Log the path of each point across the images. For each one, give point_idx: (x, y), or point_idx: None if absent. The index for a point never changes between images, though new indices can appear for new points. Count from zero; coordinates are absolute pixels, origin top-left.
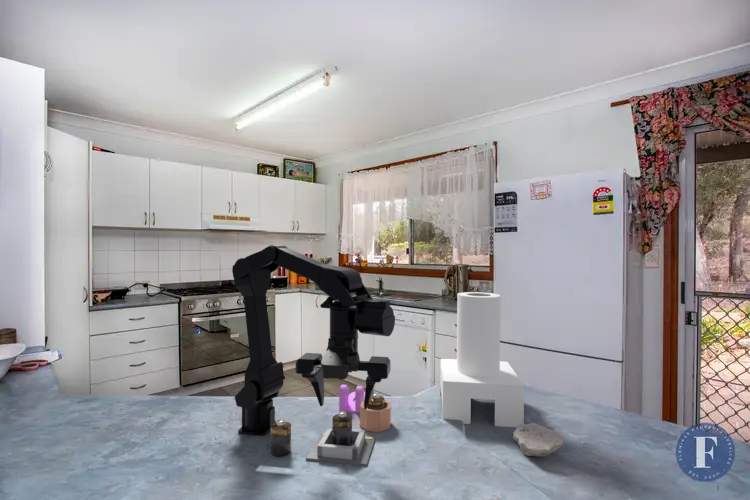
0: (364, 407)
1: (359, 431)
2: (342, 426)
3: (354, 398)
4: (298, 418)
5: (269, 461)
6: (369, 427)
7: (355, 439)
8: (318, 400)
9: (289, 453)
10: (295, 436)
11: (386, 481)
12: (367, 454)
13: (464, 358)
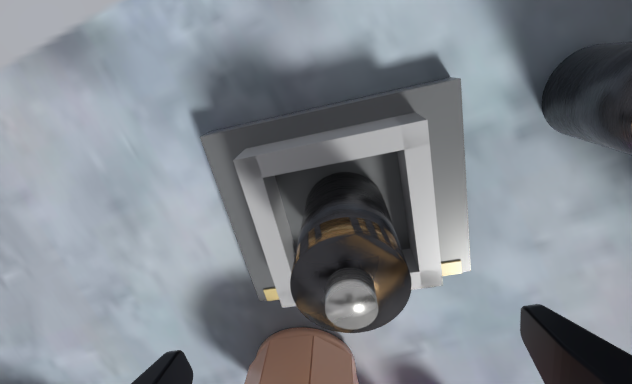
0: (168, 360)
1: None
2: (323, 227)
3: None
4: None
5: (627, 29)
6: (302, 346)
7: None
8: (593, 336)
9: (553, 97)
10: (574, 239)
11: (114, 97)
12: (229, 196)
13: None
